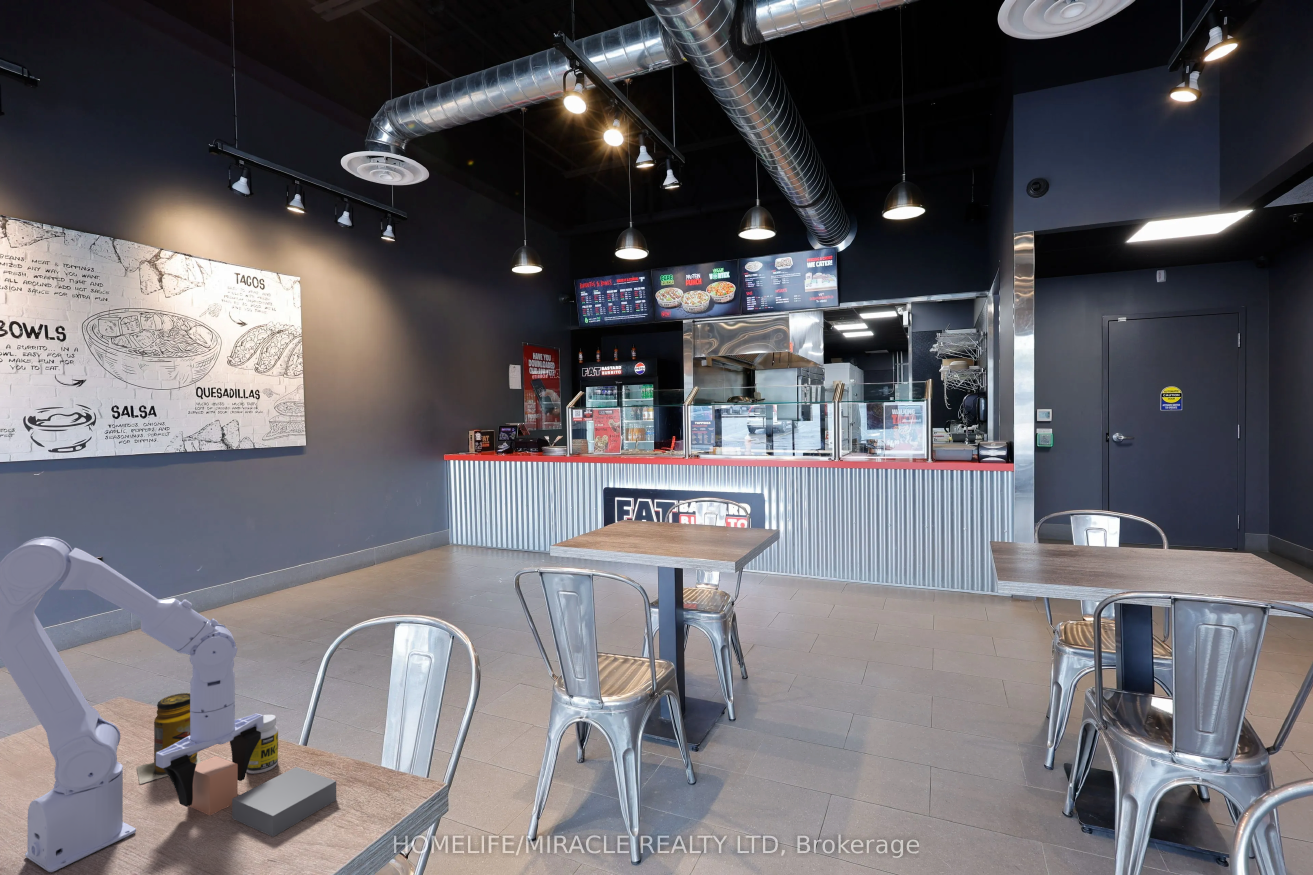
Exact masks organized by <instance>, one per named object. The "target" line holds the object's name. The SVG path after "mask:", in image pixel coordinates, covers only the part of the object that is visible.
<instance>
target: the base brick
mask: <svg viewBox="0 0 1313 875" xmlns="http://www.w3.org/2000/svg"><path fill="white" fill-rule="evenodd" d="M335 801H337V780H335V779H332V778H330V777H329V778H328V777H326V776H323V775H320V774H318V773H315V772H312V771H309V770H306V769H303V768H300V767H298V766H295V767H293V768H291V769H289V770H287V771H285V772H283V773H281V774H279V775H277V776H275V777H273V778H271V779H269V780H267V781H265V782H263V783H261V784H259V785H257V786H255V787H253V788H251V789H250V790H247V791H245V792H243V793H241V794H239V795H238V796H237V797H235V798H233V799H232V805H231V812H232V813H231V818H232V819H233V820H234V821H237V822H238V823H242V824H244V825H245V826H248V827H250V828H253V829H254V830H257V831H259V832H261V833H263V834H266V835H268V836H270V837H275V836H277V835H278V834H280V833H282V832H284V831H286V830H287V829H289V828H291V827H292V826H294V825H296V824H297V823H300V822H301V821H302V820H305V819H306V818H307V817H309V816H311V815H313V814H315V813H317V812H319V811H320V810H321V809H324V808H325V807H327V806H329V805H331V804H332V803H333V802H335Z"/></svg>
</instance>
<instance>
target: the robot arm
mask: <svg viewBox="0 0 1313 875" xmlns="http://www.w3.org/2000/svg"><path fill="white" fill-rule="evenodd" d="M57 582H61V584H60V586H59V587H58V591H74V590H75V591H81V590H82V591H83V590H84V591H85V590H86V591H89V592H91V593H93V594H94V595H96V596H99V597H101V598H102V599H104V600H106V601H107V602H110V603H111V604H114V605H115V606H117V607H119V608H120V609H122V610H125V611H126V612H128V613H129V614H132V615H133V616H135V617H137V618H139V619H140V630H141V632H143V633H144V634H146V635H147V636H149V637H150V638H152V639H154V640H156V641H158V642H159V643H162V644H163V645H165V646H167V647H168V648H170V649H171V650H173V651H175V652H176V653H179V654H185V655H189V662H190V664H191V666H192V670H191V671H192V673H191V675H192V676H191V678H190V682H189V685H190V686H189V689H190V690H189V693H190V736H188V737H186V738H184V739H182V740H181V741H179V742H177V743H175V744H173V745H171V746H170V747H168V748H166V749H164V750H161V751H159V752H157V753H156V766H158V767H161V768H163V769H164V771H165V772H166V773H167V775H168V776H167V777H168V778H169V779H170V781H171V782H172V784H173V786H174V789H175V792H176V795H177V798H178V801H179V805H181V806H183V807H186V808H187V807H190V805H192V801H193V777H194V772H195V768H196V765H197V764H195V763H192V762H190V758H188V756H189V755H192V754H194V753H197V752H201V751H204V750H206V749H208V748H210V747H214V746H216V745H224V744H227V743H229V744H230V751H231V759H232V760H231V762H233V763H236V764H238V781H239V782H242V781H244V780H245V777H246V774H247V767H248V764H249V761H250V758H251V756H252V753H253V751H254V749H255V747H256V745H257V743H258V742H259V740H260V739H261V732H260V731H257V730H256V729H259V728H261V727H263V726H264V722H263V715H264V714H260V713H254V714H251V715H247V716H244V717H241V718H237V719H236V708H235V707H236V677H235V676H236V673H235V671H234V668H235V661H234V659H235V658H236V656H237V654H238V647H237V646H236V645H237V644H236V642H235V641H236V640H235V638H234V636H233V633H232V631H230V630H229V629H228V628H227V627H226V626H225V625H224V624H223V623H222V624H221V623H219V621H218V620H216V619H215V618H211V619H209V618H207V617H206V616H204V615H202V614H200V613H199V612H197V611H196V610H194V609H193V608H191V607H192V606H193V605H192V604H193V603H192V602H190V601H189V600H188V599H183V600H182V601H180V600H179V599H177V598H175V597H174V598H166V599H158V598H157V597H156V596H154V595H152V594H151V593H149V592H148V591H146V590H145V589H143V588H142V587H141V586H139V585H137V583H135V582H133V581H132V580H130V579H129V578H127V577H126V576H125V575H123V574H121V573H120V572H118V571H117V570H116V569H114V568H113V567H111V566H110V565H108V564H107V563H106V562H103V561H102V560H100V559H98V557H95V556H93V555H92V554H90V553H88V552H87V551H85V550H82V549H80V548H77V547H74V548H73V549H72V547H71V545H70V544H69V543H67V541H65V540H62V539H60V538H58V537H54V536H41V537H35V538H32V539H30V540H27V541H25V542H24V543H22V544H21V545H20V546H18V547H17V548H15V549H13V550H11V551H10V552H9V553H7V554H6V555H5V556H4V557H3V559H1V561H0V660H1V662H2V664H3V665H4V666H5V668H6V670H7V671H8V674H10V676H11V678H12V679H13V681H14V682H15V684H16V687H18V689H19V691H20V692H21V694H22V696H23V697H24V698H25V701H26V703H28V705H29V707H30V708H31V710H32V712H33V713H34V715H35V716H36V718H37V720H38V721H39V722H40V724H41V726H42V728H43V729H44V732H45V733H46V737H47V741H48V742H47V744H48V747H49V748H48V749H49V752H50V754H51V755H52V757H53V759H54V762H55V768H54V778H55V781H54V785H53V788H52V789H50V790H49V791H48V792H47V793H45V794H43V795H41V796H40V797H37V798H35V799H33V800H32V801H31V802H30V803H29V806H28V809H27V852H25V858H27V859H29V860H30V861H32V862H33V863H34V864H36V865H38V866H39V867H40V868H42V869H43V870H45V871H47V873H54V872H56V871H58V870H60V869H61V868H64V867H66V866H69V865H71V864H72V863H75V862H77V861H79V860H81V859H83V858H85V857H87V856H90V855H91V854H94V853H95V852H99V851H100V850H102V849H104V848H106V847H108V846H110V845H113V844H114V843H116V842H118V841H120V840H122V839H125V838H127V837H129V836H131V835H133V834H136V832H137V828H136V827H134V826H132V825H130V824H128V823H127V822H124V820H123V817H124V816H123V815H124V810H123V809H124V808H123V807H124V804H123V802H124V801H123V800H124V796H123V795H124V794H123V792H124V791H123V790H124V789H123V788H124V787H123V785H124V781H123V780H124V776H123V775H124V771H123V769H124V768H123V766H124V765H123V764H122V763H121V762H119V761H118V756H117V755H118V754H117V752H118V748H119V744H120V741H121V731H120V729H119V727H118V726H117V725H116V724H114V723H113V722H110V721H108V720H106V719H104V718H103V717H102V716H101V714H100V713H99V711H98V709H96V708H95V707H93V706H91V705H90V704H89V702H88V701H87V698H85V696H84V694H83V692H82V689H80V687H79V685H78V683H77V682H76V681H75V679H74V677H73V675H72V673H71V672H70V670H69V668H68V667H67V666H66V664H65V662H64V660H63V659H62V657H61V655H60V653H59V652H58V650H57V648H56V647H55V645H54V643H53V641H52V640H51V638H50V637H49V635H48V634H47V632H46V630H45V628H44V626H43V625H42V623H41V621H40V620H39V618H38V616H37V615H36V613H35V610H36V609H37V607H38V606H39V604H40V602H41V600H42V599H43V598H44V596H45V594H46V593H47V591H49V590H50V589H51V588H52V587H53V586H54V585H55V584H56V583H57Z"/></svg>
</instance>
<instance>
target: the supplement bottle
mask: <svg viewBox="0 0 1313 875" xmlns="http://www.w3.org/2000/svg"><path fill="white" fill-rule="evenodd" d="M262 715H263V722H264V726H263V727H261V728H259V729H256V730H257V731H260V732H261V739H260V740H259V742H258V743H257V745H256V747H255V749H254V751H253V753H252V756H251V758H250V761H249V764H248V767H247V771H246V773H248V774H253V775H254V774H262V773H265V772H268V771H270V770H272V769H274V768H275V767H276V766H277V765H278V763H279V761H278V760H279V728H278V726H276V724H277V717H276V715H275V714H262Z"/></svg>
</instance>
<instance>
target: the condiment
mask: <svg viewBox="0 0 1313 875" xmlns="http://www.w3.org/2000/svg"><path fill="white" fill-rule="evenodd" d="M156 707H157V708H156V709H157V710H156V716H155V718H154V721H153V735H154V736H153V737H154V738H153V740H154V741H153V753H154V754H153V762H149V763H145V764H142V765H138V766H136V772H137V777H138V782H139V785H142V784H145V783H148V782H152V781H154V780H159V779H162V778H165V777H169V776H168V775H167V773H166V772H165V771H164V769H163V768H161V767H158V766H156V753H157V752H159V751H161V750H164V749H166V748H168V747H170V746H171V745H173V744H175V743H177V742H179V741H181V740H182V739H184V738H186V737H188V736H190V692H186V693H185V692H181V693H176V694H172V695H169V696H166V697H163V698H162V699H160V700H159V701H157V704H156ZM188 758H190V762H192V763H195V764H198V763H200V762H202V761H201V758H200V755H199V753H198V752H197V753H194V754H192V755H189V756H188Z"/></svg>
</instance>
